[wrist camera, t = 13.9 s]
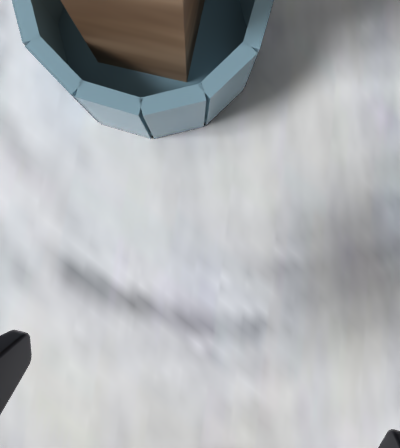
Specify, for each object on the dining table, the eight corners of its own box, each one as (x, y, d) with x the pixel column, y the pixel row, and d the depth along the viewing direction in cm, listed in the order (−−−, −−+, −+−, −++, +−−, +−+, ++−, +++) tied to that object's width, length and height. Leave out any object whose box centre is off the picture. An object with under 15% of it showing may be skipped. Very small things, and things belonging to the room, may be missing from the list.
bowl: (79, 156, 20) (46, 139, 16) (29, -45, 20) (-19, -121, 15) (277, 108, 20) (300, 77, 16) (228, -91, 20) (239, -181, 16)
